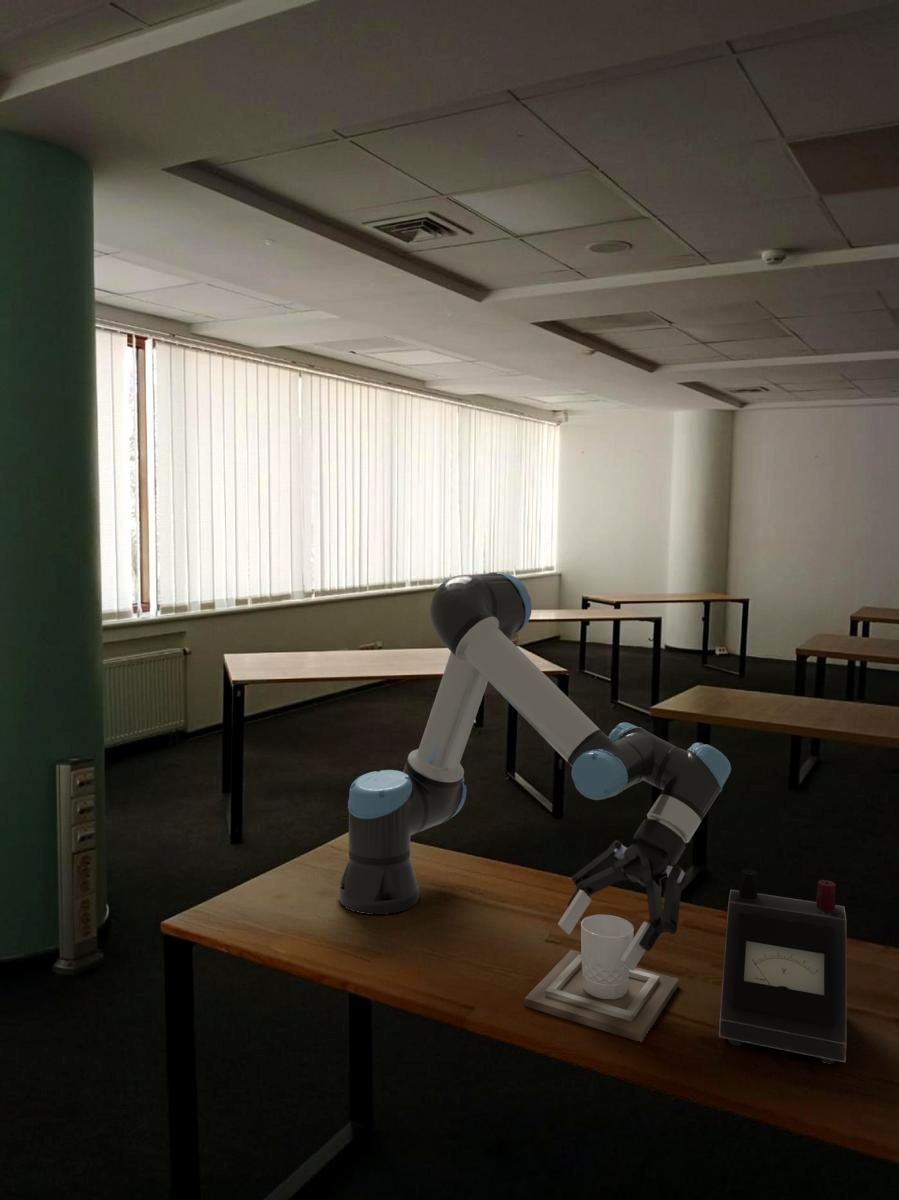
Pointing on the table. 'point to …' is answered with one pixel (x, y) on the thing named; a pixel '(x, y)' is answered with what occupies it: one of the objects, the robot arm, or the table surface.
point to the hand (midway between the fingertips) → (593, 946)
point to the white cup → (605, 955)
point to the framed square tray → (616, 1016)
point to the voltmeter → (785, 972)
